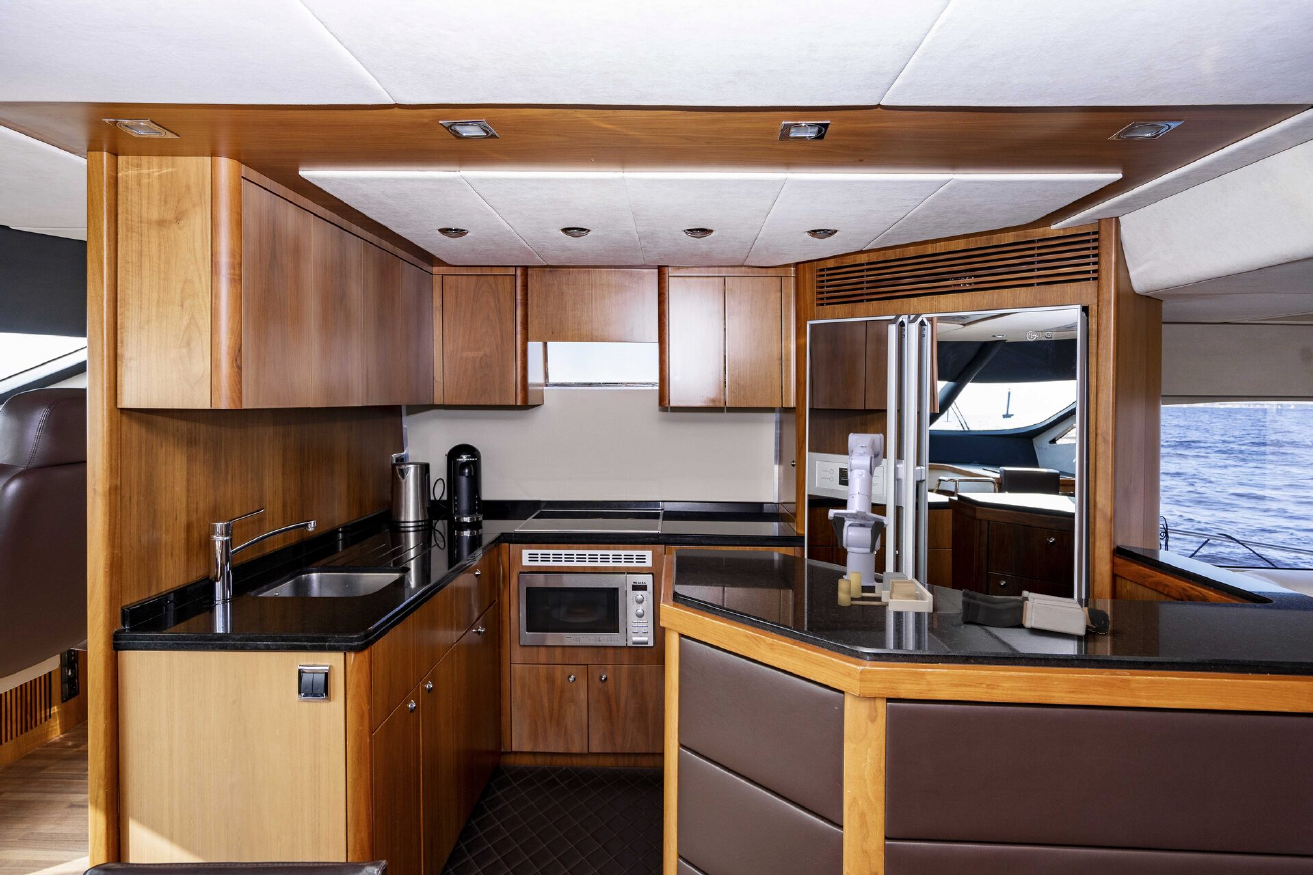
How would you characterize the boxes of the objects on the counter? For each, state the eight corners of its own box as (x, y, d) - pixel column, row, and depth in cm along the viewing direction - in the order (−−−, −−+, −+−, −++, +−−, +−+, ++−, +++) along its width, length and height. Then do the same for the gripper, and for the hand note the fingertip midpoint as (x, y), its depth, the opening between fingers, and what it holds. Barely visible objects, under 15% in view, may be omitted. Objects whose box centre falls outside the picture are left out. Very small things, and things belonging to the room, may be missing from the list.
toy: (959, 626, 162) (1117, 648, 150) (961, 595, 162) (1118, 614, 150) (962, 610, 180) (1103, 628, 167) (963, 581, 180) (1104, 598, 167)
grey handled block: (847, 593, 191) (848, 570, 191) (902, 595, 190) (903, 572, 189) (850, 598, 186) (851, 575, 186) (906, 600, 185) (907, 576, 184)
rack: (875, 592, 192) (875, 577, 192) (914, 593, 191) (914, 578, 191) (889, 610, 175) (889, 594, 175) (932, 612, 174) (932, 595, 174)
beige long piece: (836, 601, 183) (837, 577, 183) (910, 603, 182) (910, 580, 181) (839, 606, 179) (840, 582, 178) (915, 609, 177) (915, 584, 177)
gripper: (833, 488, 183) (829, 539, 177) (892, 496, 181) (890, 548, 175) (828, 499, 189) (824, 548, 183) (885, 507, 187) (883, 557, 181)
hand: (856, 549), depth 180 cm, fingers open, 7 cm apart
